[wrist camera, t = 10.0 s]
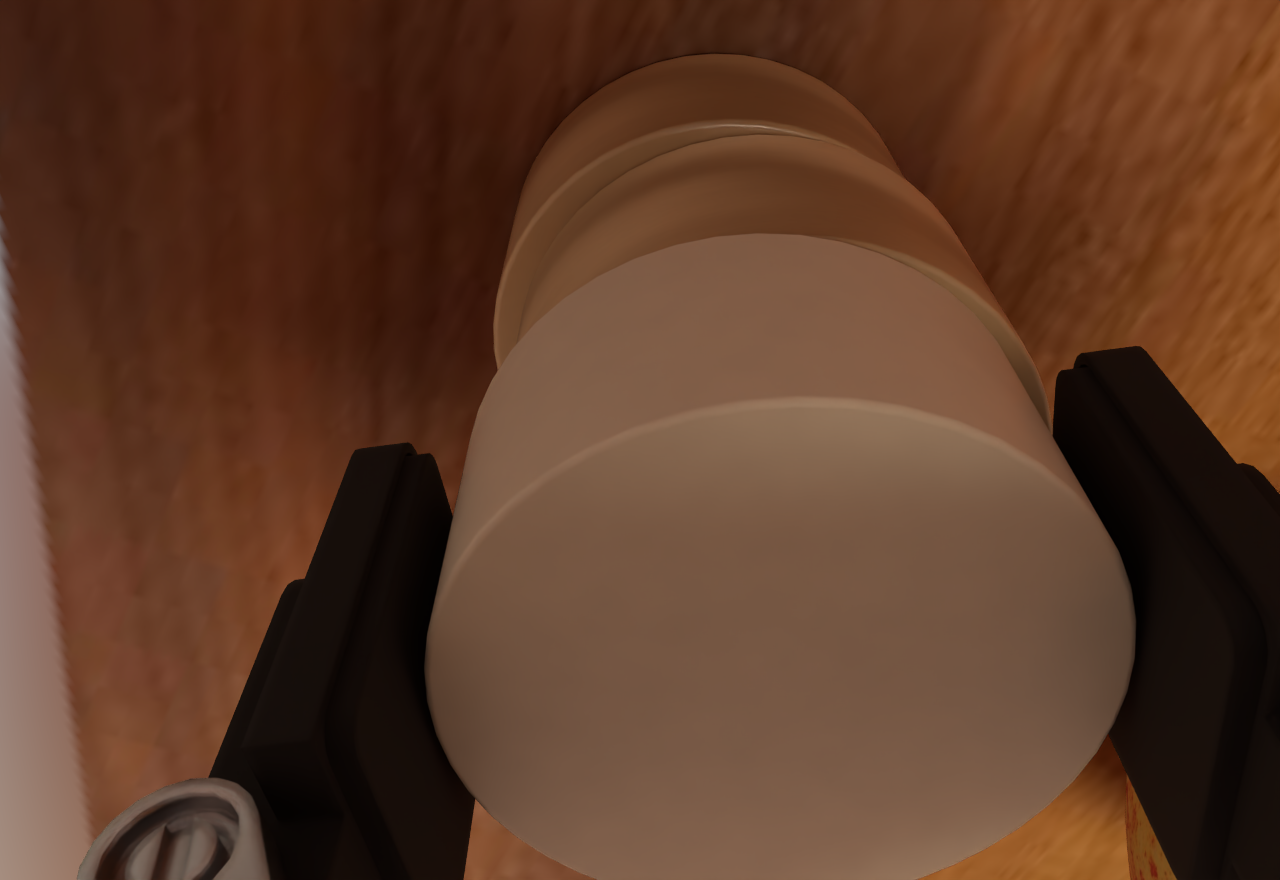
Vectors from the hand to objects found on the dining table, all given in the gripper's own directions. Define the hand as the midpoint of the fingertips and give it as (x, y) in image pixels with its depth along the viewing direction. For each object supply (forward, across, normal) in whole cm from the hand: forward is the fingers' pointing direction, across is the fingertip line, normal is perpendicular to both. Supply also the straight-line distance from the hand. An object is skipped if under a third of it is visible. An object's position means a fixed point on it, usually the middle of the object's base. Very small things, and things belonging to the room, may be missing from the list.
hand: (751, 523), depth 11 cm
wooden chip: (+1, 0, 0) cm, 1 cm away
